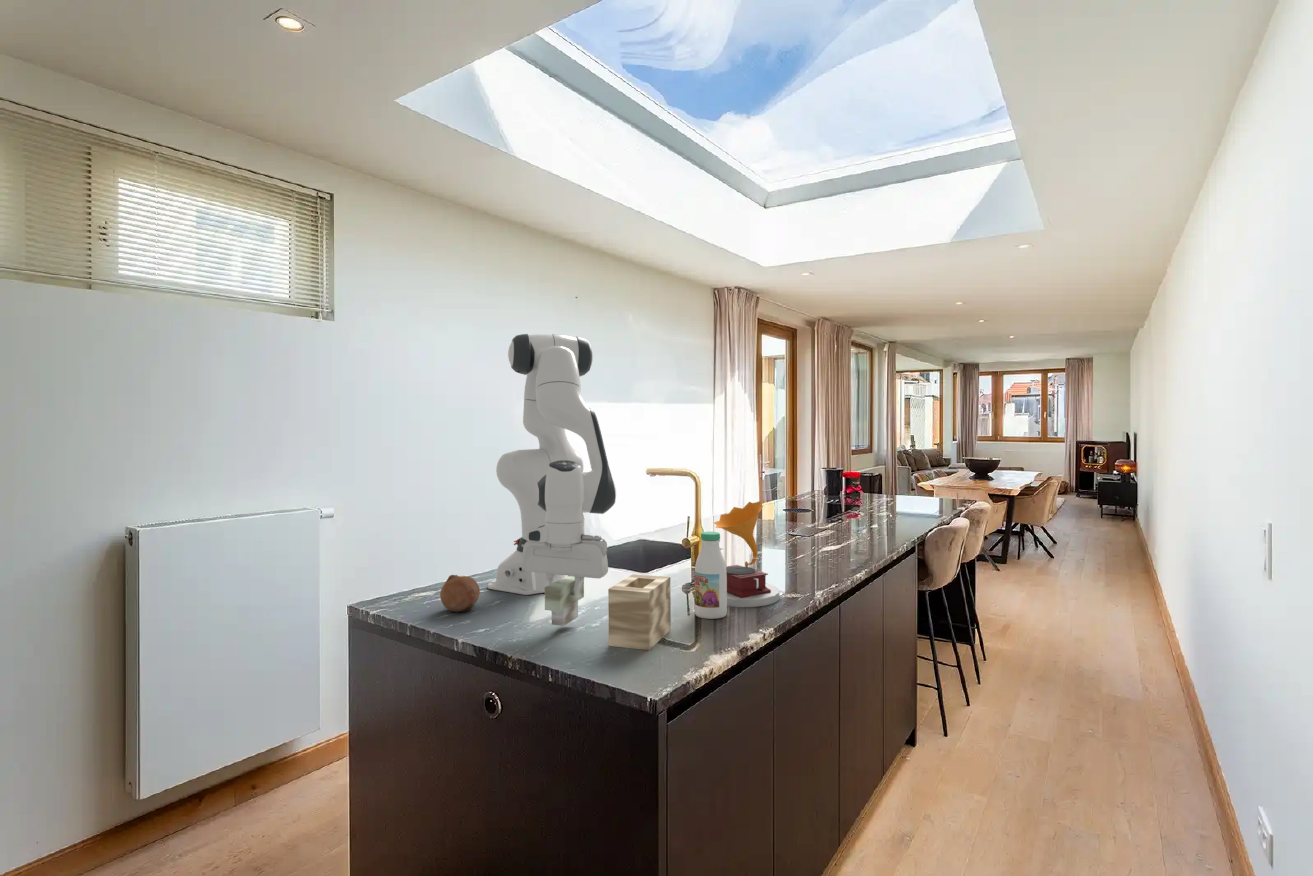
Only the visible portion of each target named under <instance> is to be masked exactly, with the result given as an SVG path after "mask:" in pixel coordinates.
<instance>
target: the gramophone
mask: <svg viewBox="0 0 1313 876" xmlns="http://www.w3.org/2000/svg"><path fill="white" fill-rule="evenodd" d="M761 504H762V502H761V501H755V502H751V501H748V502H747V504H745V505H744V506H743V507H742V508H741V507H737V506H736V507H735V506H733V507H732V509H731V510H730V512H728V513H723V514H720V516H719V520H718V521H715V522H713V524H714V525H716V526H715V528H717V529H722V530H724V531H727V532H728V533H730V534H733V535H734V536H738V537H740V538H742V539H743V540H744V542H745V543H746V544H747V545H748V546H749V549H751V551H752V556H751V562H748V561H745V562H744V566H743V565H740V564H734V565H733V564H732V565H727V566H726V573H727V607H732V608H733V607H737V608H754V607H755V608H756V607H764V606H768V605H769V606H770V605H772V604H775V603H776V602H778V601H779V600H780V588H778V587H777V586H776V585H774V584H770V583H766V581H767V580H766V576H768V575H769V573H767V572H764V571H760V570H758V558H759V557H758V547H757V544H756V543H757V542H756V540H755V537H754V530H755V527H756V525H757V521H758V518H759V513H760V512H761V511H762V509H763V507H764V505H761ZM752 565H753V567H749V566H752Z"/></svg>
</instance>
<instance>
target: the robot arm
mask: <svg viewBox="0 0 1313 876" xmlns="http://www.w3.org/2000/svg"><path fill="white" fill-rule="evenodd" d="M592 348H593V347H592V344H591V343H590V341H589V340H588V339H586V338H583V337H581V336H575V337H573V336H569V335H564V334H563V335H562V334H555V333H554V334H553V333H552V334H528V333H523V334H517V335H515V336H514V337H513V338H512V340H511V343H510V345H509V348H508V353H507V355H508V356H507V357H508V361H509V364H510V367H511V369H512V370H513V371H514V372H515V373H518V374H521V375H524V376H526V378H525V385H524V392H523V393H524V394H523V395H524V396H523V414H522V415H523V416H522V423H523V424H522V425H523V427H524V429H525V430H526V431H527V432H528V433H529V434H531V435H533V436H534V437H536V439H538V440H537V441H538V444H539V448H534V449H531V448H530V449H529V448H528V449H517V450H514V451H509V452H506V453H504V454H502V455H501V456H500V458H499V459H498V461H497V464H496V468H495V469H496V470H495V471H496V477H497V480H498V481H499V483H500V485H502V487H504V488H505V489H507V490H508V491H509V492H510V493H511V494H512V496H513V497H514V498H515V500H516V503H517V504H518V507H519V510H520V519H521V537H519V538H517V540H514V541H513V545H514V546H517V547H516V550H515V551H514V552H513V553H511V554H510V555H509V556H508V557H506V558H505V559H504V560H503V561H501V562H500V563H499V564H498V566H497V571H496V577H495V579H493V580H491V581H489V582H488V584H487V589H490V590H494V591H499V592H500V591H501V592H507V593H512V594H519V595H524V596H529V595H535V594H542V593H544V594H545V587H546V586H548V585H550V584H552V583H554V582H556V581H558V580H560V579H562V578H564V577H566V576H574V577H575V581H577V582H576V584H575V586H573V587H571V588H570V591H571V592H570V595H574V596H577V595H579V593H580V586H581V584H582V582H583V580H584V581H585V578H587V579H588V578H590V579H601V578H603V577H605V576H606V575H607V574H608V572H609V564H608V563H609V562H608V557H607V553H608V544H607V541H606V540H605V539H604V538H603V537H602V536H601V535H591V534H585V517H584V514H585V513H589V514H600V515H604V514H605V513H606V512H608V511H609V510H610V509H611V508H612V507H613V506H614V505H615V504H616V498H617V488H616V484H615V481H614V479H613V475H612V471H611V470H610V469H611V468H610V464H609V462H608V458H607V457H608V456H607V452H606V447H605V444H604V443H605V442H604V439H603V436H602V431H601V427H600V424H599V420H598V417H597V414H596V412H595V411H594V409H592V408H591V407H588V405H587V404H586V402H585V400H584V399H583V396H582V392H581V379H580V377H583V376H585V375H586V374H588V373H589V371H590V370H591V367H592V366H593V365H592V364H593V360H594V354H593V349H592ZM565 430H568V431H570V432H573V433H575V434H577V436H579V437H581V439H583V441H584V443H585V446H586V451H587V455H588V459H589V463H590V464H589V466H590V468H591V470H590V471H587V472H584V460H583V458H582V457H581V455H580V453H579V452H578V451H576V449H574V448H573V446H572V445H571V443H570V441H569V440H568V438H567V435H566V431H565Z"/></svg>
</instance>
